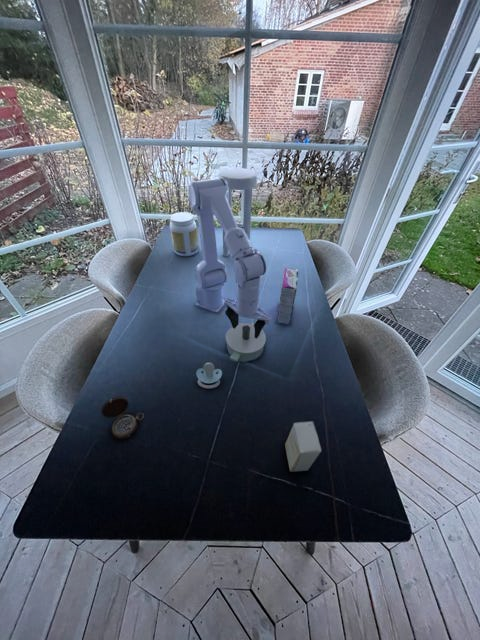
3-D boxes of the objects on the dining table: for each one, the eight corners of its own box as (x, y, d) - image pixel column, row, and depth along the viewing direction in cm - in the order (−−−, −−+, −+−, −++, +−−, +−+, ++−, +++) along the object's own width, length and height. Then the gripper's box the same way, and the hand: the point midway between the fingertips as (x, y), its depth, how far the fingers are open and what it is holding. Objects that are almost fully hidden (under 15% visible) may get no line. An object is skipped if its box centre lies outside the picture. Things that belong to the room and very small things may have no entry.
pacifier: (220, 390, 74) (222, 372, 79) (220, 378, 70) (222, 359, 74) (194, 388, 75) (198, 370, 79) (192, 376, 70) (196, 358, 74)
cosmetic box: (284, 444, 64) (292, 421, 55) (302, 443, 64) (313, 420, 56) (290, 473, 59) (299, 453, 51) (309, 471, 60) (322, 451, 51)
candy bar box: (278, 303, 102) (284, 267, 91) (291, 305, 101) (299, 269, 90) (275, 323, 94) (281, 286, 83) (289, 325, 93) (297, 288, 82)
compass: (116, 445, 63) (106, 431, 58) (106, 419, 68) (96, 404, 63) (149, 425, 66) (142, 411, 61) (137, 402, 71) (130, 387, 66)
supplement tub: (195, 243, 136) (191, 209, 124) (202, 254, 128) (199, 219, 116) (171, 247, 132) (165, 213, 120) (177, 259, 124) (171, 224, 112)
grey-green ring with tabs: (216, 359, 82) (216, 350, 79) (240, 325, 93) (240, 316, 90) (250, 373, 78) (251, 364, 75) (271, 336, 90) (272, 327, 87)
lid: (217, 344, 81) (217, 332, 78) (238, 320, 89) (239, 309, 86) (253, 361, 77) (254, 350, 73) (272, 334, 85) (274, 323, 81)
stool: (224, 242, 137) (222, 166, 112) (253, 245, 135) (258, 168, 111) (218, 258, 125) (215, 177, 101) (250, 261, 124) (255, 179, 100)
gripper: (278, 297, 71) (273, 332, 80) (233, 280, 76) (232, 315, 86) (267, 312, 67) (262, 347, 76) (219, 293, 72) (220, 328, 81)
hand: (246, 331), depth 81 cm, fingers open, 7 cm apart
